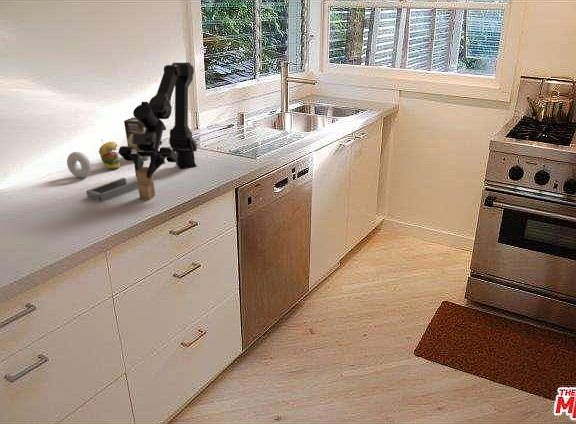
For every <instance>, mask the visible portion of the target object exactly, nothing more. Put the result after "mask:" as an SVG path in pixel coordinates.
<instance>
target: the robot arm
mask: <svg viewBox="0 0 576 424" xmlns="http://www.w3.org/2000/svg"><path fill="white" fill-rule="evenodd" d="M194 73H195V70H194V66H193V65H192V64H191V63H190V62H172V64H166V65H165V66H164V67H163V74H162V78H161V80H160V83H159V86H158V89H157V91H156V94H155V95H154V96H152V98H150V100H149V102H148V101H141V103H140V104H139V105H138V106H136V107H135V109H133V111H132V112H133V113H132V114H133V117H134V118H136V119H137V120H138V122H139V123H140V124H141V125H142V126H143V127H144V128H145V132H144V134H133V141H132V144H137V147H138V148H140V150H135V149H133V148H132V147H131V146H128V145H122V146H119V148H118V152H117V154H118V155H120V157H122V158H123V159H124V160H125V161H127V162H133V164H134V165H133V166H134V172H135V174H136V170H137V169H139V168H140V167H144V164H145V160H142V159H141V158H142V156H144V157H150V159H149V160H150V161H149V165H148V167H149V168H148V172H147V178H150V177H151V175H152V176H153V174H154V173H155V172H156V171H157V170H158V169H159V168H160V167H161V166H162V165H165V164H166V161H165V160H167V163H175V165H176V166H177V167H178V168H179V169H180V170H183V169H188V168H189V169H190V168H193V167H197V164H196V161H195V160H196V159H195V152H197V148H198V144H197V142H196V140H195V139H194V138H193V132H192V131H191V128H190V127H189V123H188V122H189V87H190V84H191V83H192V81H193V77H194ZM173 92H174V126H173V127H172V128H170V129H169V139H168V140H169V142H168V143H169V146H170V147H169V146H168V147H167V146H164V147H163V146H162V145H163V141H161V140H162V136H163V133H164V131H166V130H167V128H166V127H167V126H165V124H164V121H163V120H168V119H170V117H171V115H172V108H173V107H172V104H171V98H172V96H173ZM160 146H161V147H160Z"/></svg>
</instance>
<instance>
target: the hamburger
mask: <svg viewBox="0 0 576 424" xmlns="http://www.w3.org/2000/svg"><path fill="white" fill-rule="evenodd" d="M100 140H101V142H102V143H103V144H102V145H101V146H100V147H99V150H98V153H99V155H100V159H101V160H100V161H101V162H102V164H103V166H104V167H105V168H108V169H112V170H115V169H116V170H117V169H119V168H120V167H121V163H120V162H119V159H120V157H119V153H118V152H116V151H117V150H118V149H117V147H118V144H117V143H116V142H115V141H108V142H105V143H104V140H103V139H102V138H100Z"/></svg>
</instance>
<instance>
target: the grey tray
mask: <svg viewBox="0 0 576 424" xmlns="http://www.w3.org/2000/svg"><path fill="white" fill-rule="evenodd" d="M135 189H136V190H139V189H138V183H137V180H134V181H132V182H129V183H127V178H125V177H122V178H119V179H117V180H113V181H110V182H106V183H105V184H102V185H101V184H100V185H99V186H96V187H94V188H91V189H87V190H86V196H87V199H91V200H93V199H94V201H96V200H97V202H99V201H100V203H104V202H106V200H107V201H109V199H110V200H112V199H114V198H117V197H119V196H122V194H123V195H125V194H128V193H131V192H134V191H135ZM130 191H131V192H130ZM103 201H104V202H103Z"/></svg>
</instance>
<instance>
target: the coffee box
mask: <svg viewBox="0 0 576 424" xmlns="http://www.w3.org/2000/svg"><path fill="white" fill-rule="evenodd" d="M123 125H124V129H125V130H124V131H125V136H126V142H127V146H131V147H132V148H133V149H135V150H140V148H138V147H137V144H132V141H133V134H144V132H145V128H144V127H143V126H142V125H141V124H140V123H139V122H138V120H137V119H136V118H135V117H134V116H133V117H130V118H127V119H125V120H124V121H123ZM141 159H142V160H143V161H145V160H146V161H148V160H151V159H150V157H144V156H142V158H141Z"/></svg>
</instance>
